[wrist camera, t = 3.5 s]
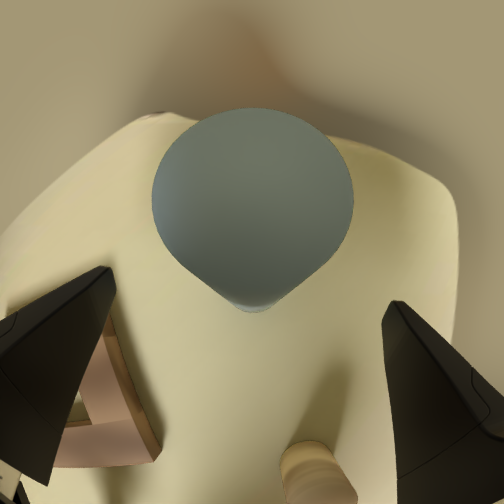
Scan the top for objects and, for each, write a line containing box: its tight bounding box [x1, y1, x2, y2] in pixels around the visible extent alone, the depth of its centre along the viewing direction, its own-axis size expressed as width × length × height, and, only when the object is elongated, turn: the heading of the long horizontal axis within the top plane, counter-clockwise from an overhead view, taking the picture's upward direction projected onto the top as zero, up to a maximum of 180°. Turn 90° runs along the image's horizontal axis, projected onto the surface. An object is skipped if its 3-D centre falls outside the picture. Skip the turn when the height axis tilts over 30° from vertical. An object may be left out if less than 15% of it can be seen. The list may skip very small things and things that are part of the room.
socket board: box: [53, 312, 162, 468], centre depth 16 cm, size 12×12×2 cm
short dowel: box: [280, 441, 358, 504], centre depth 13 cm, size 4×4×6 cm
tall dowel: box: [152, 108, 354, 313], centre depth 12 cm, size 4×4×14 cm
